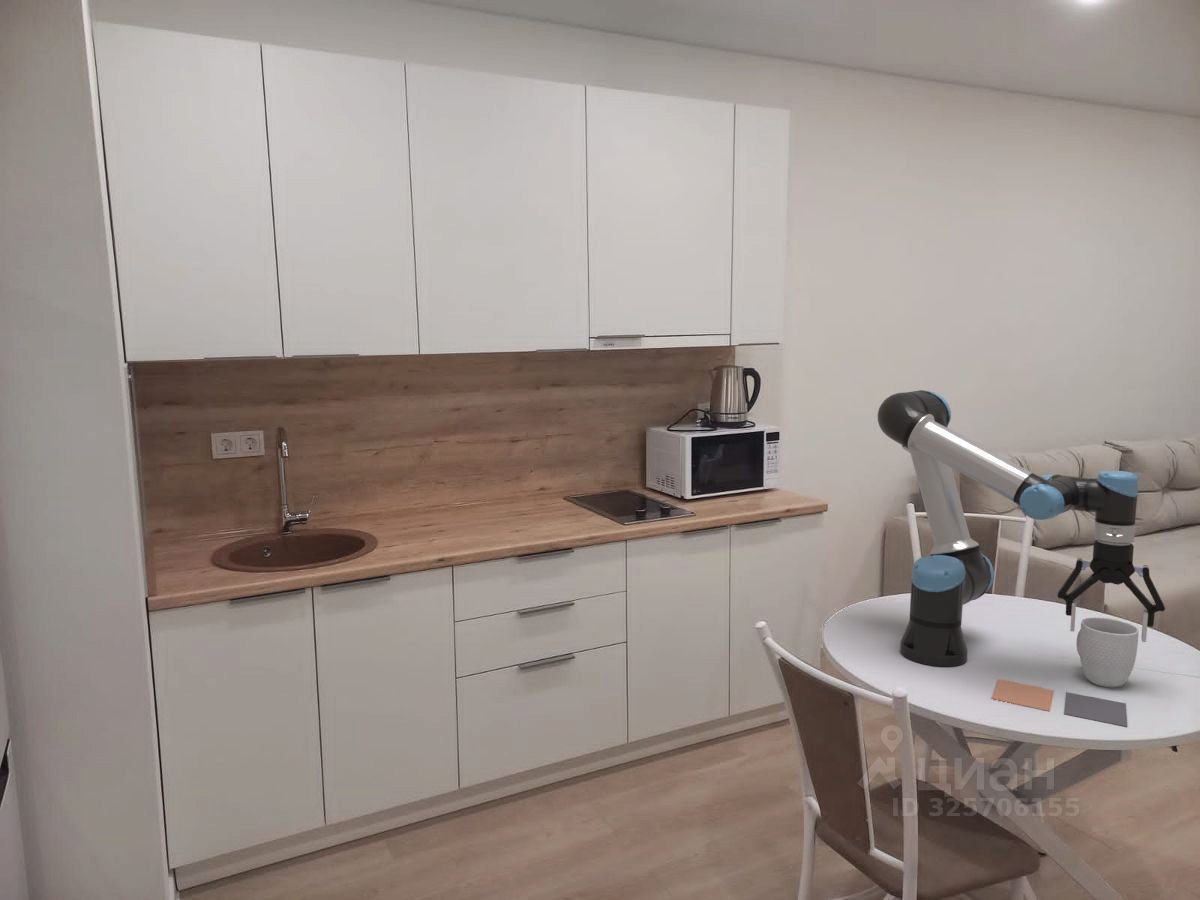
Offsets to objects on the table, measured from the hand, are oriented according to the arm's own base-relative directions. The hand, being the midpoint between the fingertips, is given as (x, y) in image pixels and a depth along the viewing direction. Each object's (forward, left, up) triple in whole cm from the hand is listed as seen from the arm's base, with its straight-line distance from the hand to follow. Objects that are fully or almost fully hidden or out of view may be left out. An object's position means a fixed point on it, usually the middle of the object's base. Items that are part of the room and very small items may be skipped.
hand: (1107, 634), depth 187 cm
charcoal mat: (-1, -18, -11) cm, 21 cm away
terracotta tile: (-15, -18, -11) cm, 26 cm away
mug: (0, 0, -11) cm, 11 cm away
